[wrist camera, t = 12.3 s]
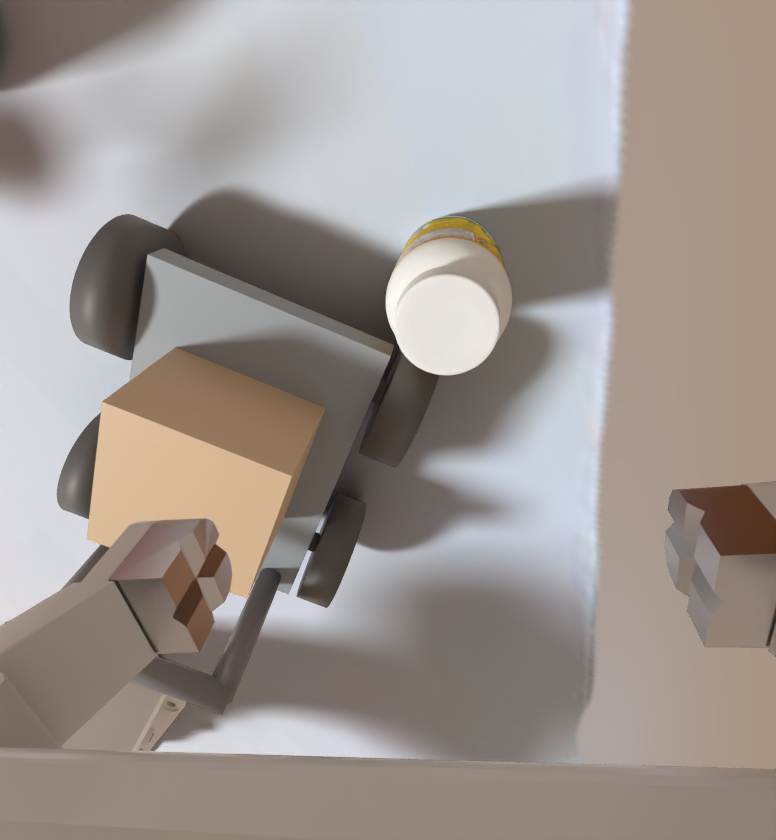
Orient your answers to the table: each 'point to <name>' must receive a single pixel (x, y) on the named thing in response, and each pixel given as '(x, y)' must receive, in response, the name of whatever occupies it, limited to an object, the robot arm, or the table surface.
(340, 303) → the table surface
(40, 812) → the robot arm
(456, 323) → the supplement bottle
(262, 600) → the trolley
